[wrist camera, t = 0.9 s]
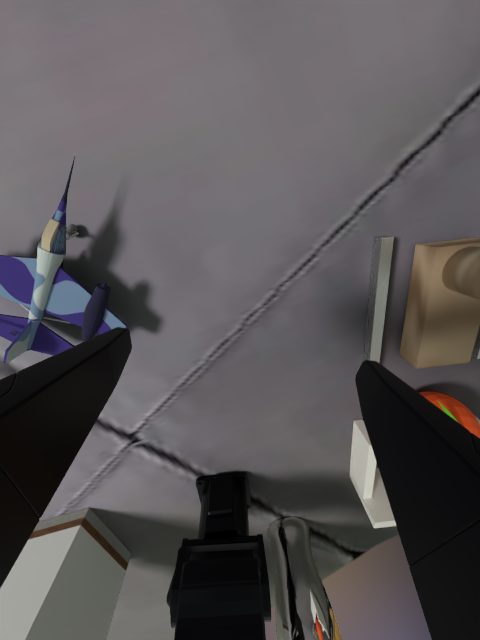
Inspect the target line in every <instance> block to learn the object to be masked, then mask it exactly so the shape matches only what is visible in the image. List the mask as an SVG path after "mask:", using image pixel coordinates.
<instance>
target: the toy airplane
mask: <svg viewBox="0 0 480 640" xmlns="http://www.w3.org/2000/svg"><path fill="white" fill-rule="evenodd" d="M74 159H75V157H74ZM73 164H74V161H73ZM73 164H72V168H71V171H70V175H69V179H68V182H67V186H66V189H65V193H64V195H63V197H62V199H61V201H60V204H59V206H58V209H57V210H56V212H55V214H54V216H53V218H52V219H50V220H49V222H48V224H47V226H46V228H45V230H44V233H43V235H42V238H41V240H40V242H39V244H38V249H37V258H30V257H17V256H4V255H0V296H1V297H3V298H6V299H8V300H11V301H13V302H16V303H18V304H20V305H21V306H22V307H24V308H25V309H26V310H27V311H29V318H24V317H17V316H10V315H3V314H0V336H1V337H4V338H6V339H8V340H10V341H12V344H11V345H10V346H9V347H8V348H7V350H6V352H5V356H4V361H3V363H6V364H7V363H8V362H10V361H11V360H13V359H14V358H16V357H17V356H19V355H20V354H22V353H24V352H25V351H27V350H33V351H38V352H42V353H46V354H50V355H56V354H58V353H61V352H63V351H65V350H67V349H69V348H72V347H74V345H72V344H71V343H69V342H68V341H67V340H65V339H64V338H62V337H61V336H59V335H58V334H56V333H55V332H53V331H52V330H50V329H49V328H47V327H46V326H44V325H43V324H41V320H42V319H48V320H53V321H59V322H64V323H71V324H72V323H73V324H75V325H78V326H80V327H82V338H83V339H84V340H86V341H87V340H89V339H92V338H93V336H94V335H95V333H98V334H103V333H105V332H107V331H109V330H111V329H114V328H116V327H122V328H127V325H126V324H125V323H124V322H123V321H122V320H121V319H119V318H118V317H117V316H116V315H115V314H114V313H113V312H111V311H110V310H109V309H108V308H107V305H108V299H109V293H110V290H111V289H110V287H108V286H107V283H106V281H105V282H104V283H103V284H97V285H96V288H95V290H94V292H93V294H91V293H90V292H89V291H88V290H87V289H85V288H84V287H83V286H82V285H81V284H80V283H79V282H77V281H76V280H75V279H74V278H73V277H72V276H71V275H70V274H68V273H67V272H66V271H65V270H64V269H63V258H64V256H65V254H66V240H68V239H70V238H72V237H74V236H76V235H79V233H78V232H77V230H78V229H77V226H76V225H74V224H71V225H69V226H68V227H66V205H67V193H68V188H69V184H70V179H71V174H72V169H73ZM66 234H67V236H69V237H67V238H66ZM27 307H28V308H27ZM29 308H30V309H29ZM44 312H45V313H48V314H50V315H53V316H55V317H58V318H60V319H63V320H59V319H53V318H48V317H43V314H44ZM64 320H65V321H64Z"/></svg>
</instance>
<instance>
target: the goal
mask: <svg viewBox="0 0 480 640" xmlns="http://www.w3.org/2000/svg"><path fill="white" fill-rule="evenodd" d="M474 416H475V415H474ZM475 417H476V416H475ZM476 419H477V421H478V423H479V424H480V420H479V419H478V418H477V417H476ZM349 476H350V478H351V480H352V483H353V485H354V487H355V489H356V491H357V493H358V495H359V498H360V500H361V502H362V504H363V506H364V508H365V510H366V513H367V515H368V517H369V519H370V521H371V523H372V525H373V527H374V528H382V527H391V526H396V522H395V519H394V516H393V513H392V510H391V507H390V503H389V500H388V497H387V494H386V491H385V487H384V484H383V481H382V478H381V475H380V471H379V468H376V459H375V455H374V452H373V449H372V446H371V443H370V439H369V436H368V433H367V430H366V427H365V423H364V421H363V420H354V425H353V437H352V450H351V463H350V475H349Z"/></svg>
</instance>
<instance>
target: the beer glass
mask: <svg viewBox="0 0 480 640" xmlns="http://www.w3.org/2000/svg"><path fill="white" fill-rule="evenodd" d="M268 538H269V542H270V545H271V549H272V553H273V558H274V565H275V618H276V637H277V640H342V637H341V634H340V630H339V627H338V623H337V621H336V617H335V615H334V612H333V609H332V606H331V603H330V601H329V598H328V595H327V593H326V590H325V588H324V585H323V583H322V580H321V578H320V575H319V572H318V570H317V567H316V564H315V561H314V557H313V553H312V548H311V540H310V531H309V526H308V524H307V523H306V522H305V521H304V520H303V519H300V518H297V517H285V518H281V519H278V520H276V521H274V522H273V523H272V524H271V525H270V526H269V528H268Z"/></svg>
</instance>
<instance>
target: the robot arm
mask: <svg viewBox="0 0 480 640" xmlns="http://www.w3.org/2000/svg"><path fill="white" fill-rule="evenodd" d="M131 349H132V344H131V337H130V331H129V329H127V328H122V327H116V328H114V329H111V330H109V331H107V332H105V333H103V334H100V335H98V336H96V337H94V338H92V339H89V340H87V341H85V342H83V343H81V344H78V345H76V346H74V347H72V348H69V349H67V350H65V351H63V352H61V353H58V354H56V355H54V356H52V357H50V358H47V359H45V360H43V361H41V362H39V363H36V364H34V365H32V366H30V367H27V368H25V369H23V370H21V371H19V372H17V374H16V373H14V374H12V375H10V376H8V377H5V378H3V379H1V380H0V588H1V587H2V585H3V583H4V581H5V580H6V578H7V576H8V574H9V573H10V571H11V569H12V567H13V566H14V564H15V562H16V560H17V559H18V557H19V555H20V553H21V552H22V550H23V548H24V546H25V545H26V543H27V541H28V539H29V538H30V536H31V534H32V532H33V531H34V529H35V527H36V525H37V524H38V522H39V518H41V516H42V515H43V513H44V511H45V509H46V508H47V506H48V504H49V502H50V501H51V499H52V497H53V495H54V494H55V492H56V490H57V488H58V487H59V485H60V483H61V481H62V480H63V478H64V476H65V474H66V473H67V471H68V469H69V467H70V466H71V464H72V462H73V460H74V459H75V457H76V455H77V453H78V452H79V450H80V448H81V446H82V445H83V443H84V441H85V439H86V438H87V436H88V434H89V432H90V431H91V429H92V427H93V425H94V424H95V422H96V420H97V418H98V417H99V415H100V413H101V411H102V410H103V408H104V406H105V404H106V403H107V401H108V399H109V397H110V396H111V394H112V392H113V390H114V388H115V387H116V385H117V382H118V380H119V378H120V376H121V373H122V371H123V369H124V366H125V364H126V362H127V359H128V357H129V355H130V352H131ZM355 380H356V386H357V391H358V396H359V402H360V407H361V412H362V416H363V420H364V423H365V427H366V430H367V433H368V436H369V439H370V443H371V446H372V449H373V452H374V455H375V459H376V462H377V465H378V468H379V471H380V475H381V478H382V481H383V484H384V487H385V491H386V494H387V497H388V500H389V503H390V507H391V510H392V513H393V516H394V519H395V522H396V526H397V529H398V532H399V535H400V538H401V542H402V545H403V548H404V551H405V554H406V557H407V561H408V563H409V565H410V571H411V574H412V577H413V581H414V584H415V587H416V590H417V593H418V596H419V600H420V603H421V606H422V609H423V613H424V616H425V619H426V622H427V625H428V628H429V632H430V635H431V638H432V640H480V438H478V437H477V436H476V435H474V434H473V433H470V431H469V430H468V429H466V428H465V427H464V426H462V425H461V424H460V423H458V422H457V421H456V420H454V419H453V418H452V417H450V416H449V415H448V414H446V413H445V412H444V411H442V410H441V409H440V408H438V407H437V406H436V405H434V404H433V403H432V402H430V401H429V400H428V399H426V398H425V397H424V396H422V395H421V394H419V393H418V392H417V391H415V390H414V389H413V388H411V387H410V386H409V385H407V384H406V383H405V382H403V381H402V380H401V379H399V378H398V377H397V376H395V375H394V374H393V373H391V372H390V371H389V370H387V369H386V368H385V367H383V366H382V365H381V364H379V363H378V362H377V361H372V360H364V361H363V363H362V364H361V366H360V368H359V370H358V372H357V374H356V379H355ZM196 486H197V490H198V494H199V498H200V502H201V515H200V525H199V536H198V539H188V538H185V539H183V542H182V547H180V549H179V550H178V556H177V563H176V568H175V572H174V575H173V578H172V581H171V584H170V588H169V591H168V594H167V604H168V605H169V607H170V615H171V627H172V628H175V638H174V640H266V637H265V624H264V621H265V622H270V621H271V603H270V590H269V580H268V572H267V565H266V558H265V550H264V543H263V536H262V534H257V536H249V524H248V509H249V508H251V498H250V491H249V484H248V477H247V474H246V473H235V474H226V475H217V476H209V477H200V478H197V479H196Z"/></svg>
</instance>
